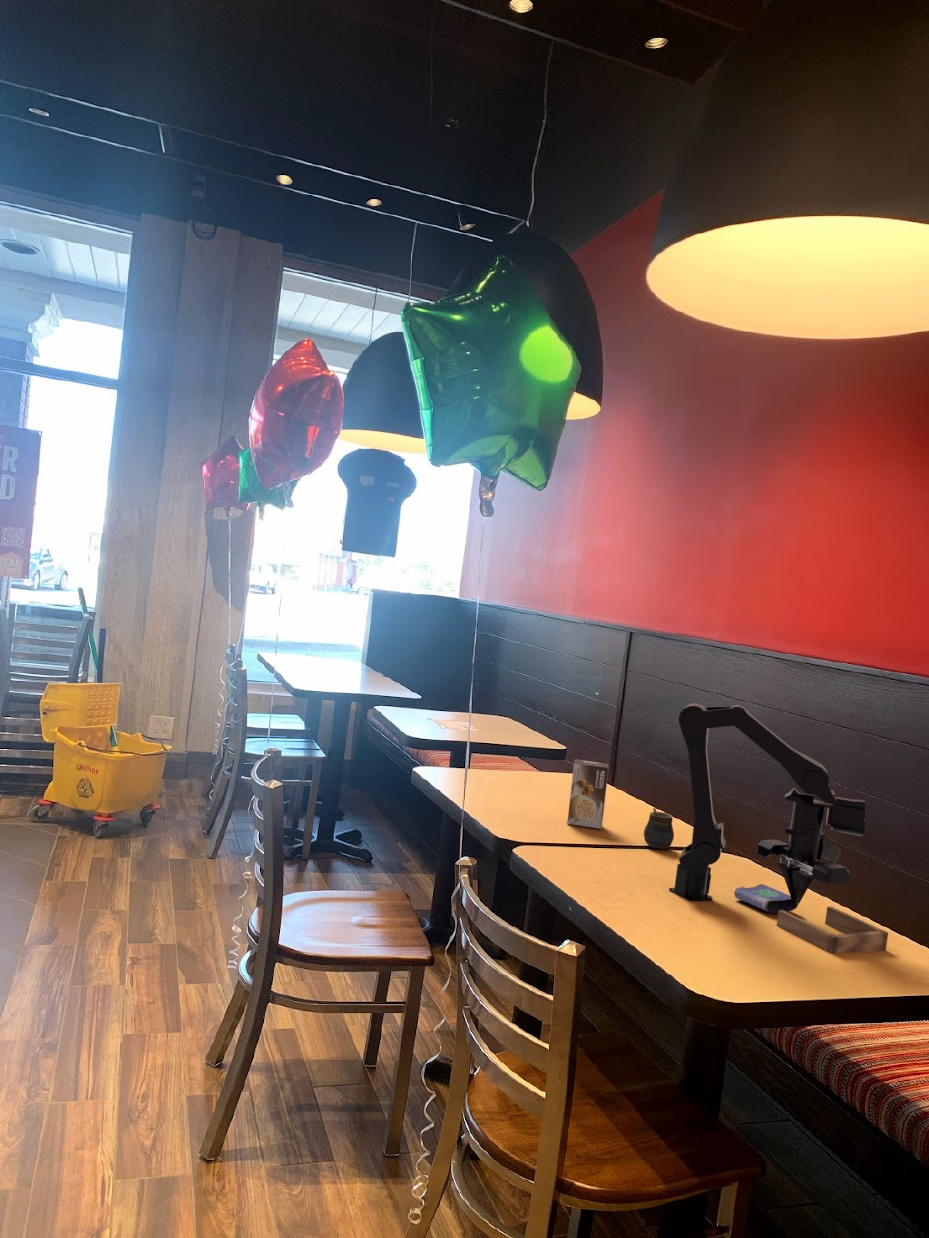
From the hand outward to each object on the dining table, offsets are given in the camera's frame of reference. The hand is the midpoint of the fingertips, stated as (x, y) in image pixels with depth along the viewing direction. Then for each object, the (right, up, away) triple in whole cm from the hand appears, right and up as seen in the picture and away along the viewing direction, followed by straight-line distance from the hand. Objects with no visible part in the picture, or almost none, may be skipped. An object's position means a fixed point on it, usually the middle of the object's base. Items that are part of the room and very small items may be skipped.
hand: (795, 903), depth 182 cm
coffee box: (-35, +3, +57) cm, 67 cm away
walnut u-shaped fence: (+3, -4, -7) cm, 9 cm away
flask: (-2, -4, +3) cm, 6 cm away
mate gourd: (-18, 0, +44) cm, 47 cm away
